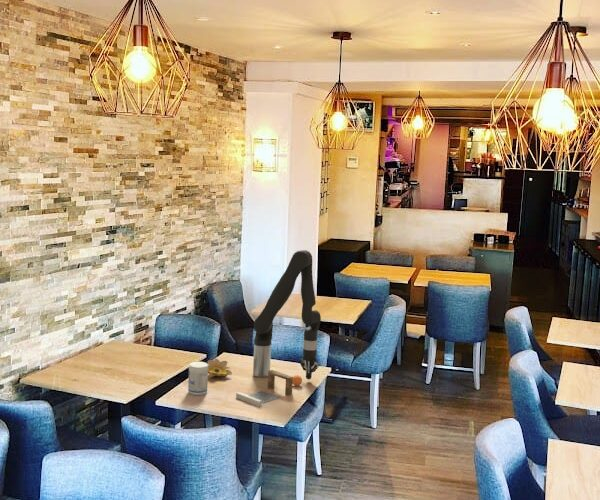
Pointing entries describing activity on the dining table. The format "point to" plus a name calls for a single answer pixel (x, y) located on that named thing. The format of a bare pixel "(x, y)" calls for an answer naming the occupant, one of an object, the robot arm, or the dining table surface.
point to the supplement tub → (198, 378)
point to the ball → (297, 380)
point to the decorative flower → (218, 368)
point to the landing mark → (264, 396)
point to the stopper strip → (249, 399)
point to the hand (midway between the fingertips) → (308, 378)
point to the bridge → (274, 373)
